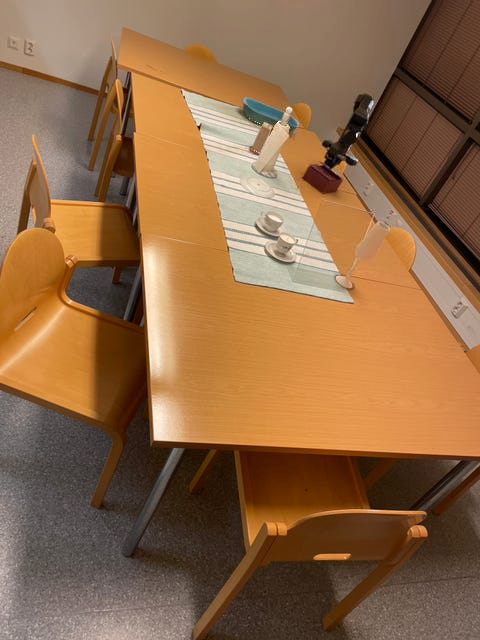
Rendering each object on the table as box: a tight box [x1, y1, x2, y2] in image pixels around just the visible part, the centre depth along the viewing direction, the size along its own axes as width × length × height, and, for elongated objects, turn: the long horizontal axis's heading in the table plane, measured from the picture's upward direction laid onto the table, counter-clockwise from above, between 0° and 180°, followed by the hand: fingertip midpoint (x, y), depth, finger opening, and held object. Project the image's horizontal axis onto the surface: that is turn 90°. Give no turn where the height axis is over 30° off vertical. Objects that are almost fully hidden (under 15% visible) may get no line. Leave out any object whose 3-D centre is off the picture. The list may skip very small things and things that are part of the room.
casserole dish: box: [241, 97, 300, 135], centre depth 273 cm, size 37×22×7 cm, turn 103°
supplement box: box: [250, 122, 273, 155], centre depth 227 cm, size 8×5×13 cm, turn 168°
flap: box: [318, 160, 345, 180], centre depth 232 cm, size 7×13×1 cm, turn 49°
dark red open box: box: [302, 163, 344, 194], centre depth 232 cm, size 15×13×7 cm
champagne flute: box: [335, 221, 391, 289], centre depth 160 cm, size 7×7×24 cm
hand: (330, 168), depth 230 cm, fingers closed, pressing on flap
